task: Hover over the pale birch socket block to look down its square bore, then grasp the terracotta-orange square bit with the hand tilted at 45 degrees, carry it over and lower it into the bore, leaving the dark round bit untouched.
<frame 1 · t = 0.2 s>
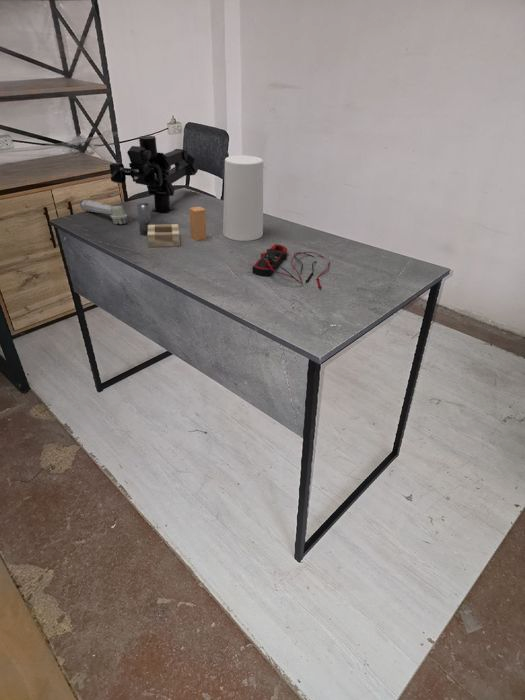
hand: (123, 180, 153), 17 cm above the table, tool horizontal, fingers open, 9 cm apart
grey knobbed rod: (104, 217, 174), on the table
socket block: (164, 241, 155), on the table
round bit: (146, 233, 160), on the table
cylinder: (242, 234, 164), on the table
digital clamp meter: (293, 270, 141), on the table
square bit: (198, 238, 159), on the table
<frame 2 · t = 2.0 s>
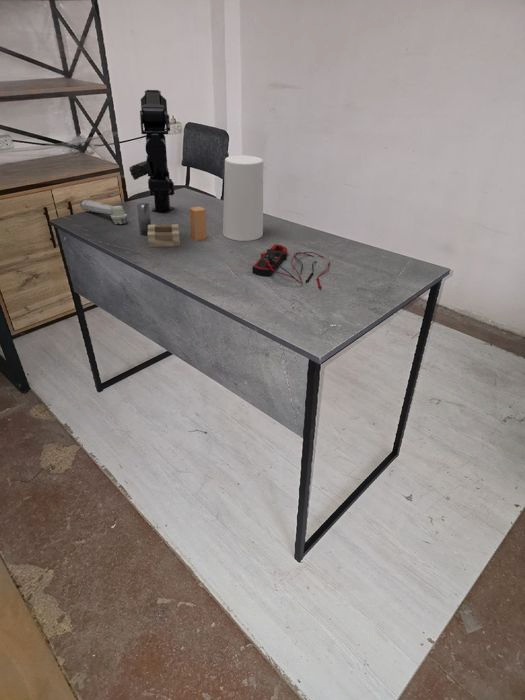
hand: (161, 205, 148), 12 cm above the table, tool pointing down, fingers open, 9 cm apart
nothing on the table moved.
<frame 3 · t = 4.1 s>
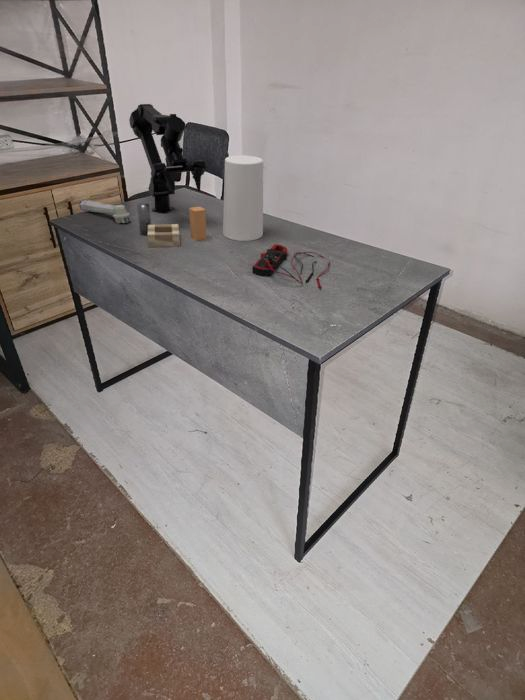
hand: (186, 192, 157), 13 cm above the table, tool tilted 45°, fingers open, 9 cm apart
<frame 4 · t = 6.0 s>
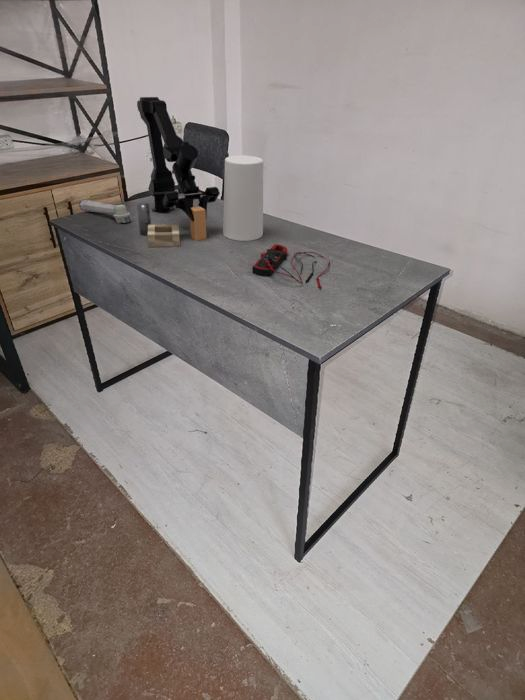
hand: (199, 220, 154), 7 cm above the table, tool tilted 45°, fingers closed on square bit, 4 cm apart
square bit: (198, 237, 159), on the table, touching gripper
everything else where it was.
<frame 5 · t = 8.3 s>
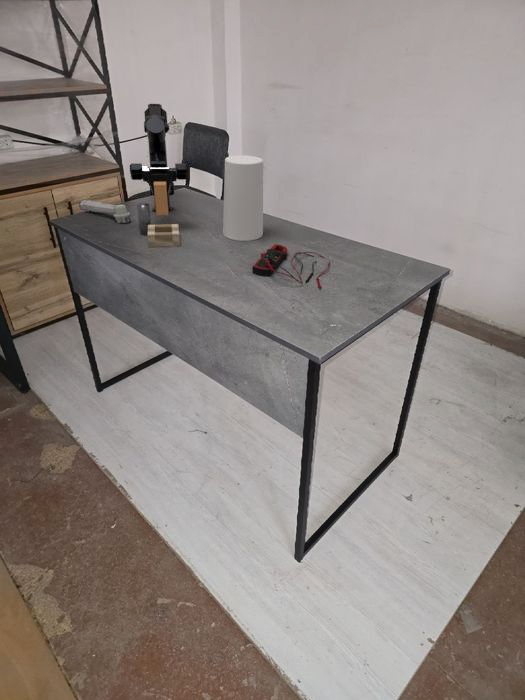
hand: (160, 194, 154), 13 cm above the table, tool tilted 45°, fingers closed on square bit, 4 cm apart
square bit: (162, 213, 159), point 7 cm above the table, touching gripper
everything else where it was.
when the fingers open (8 cm above the table, at t = 10.6 s): square bit stays where it is, resting on socket block.
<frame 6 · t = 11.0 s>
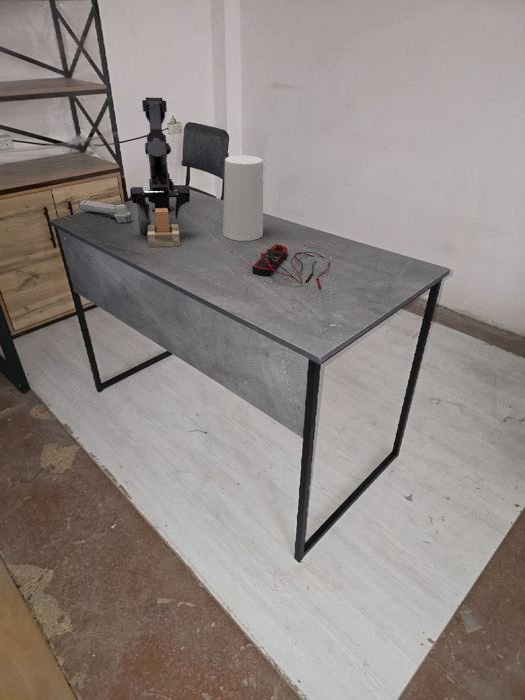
hand: (162, 218, 149), 8 cm above the table, tool tilted 45°, fingers open, 9 cm apart
square bit: (164, 239, 155), resting on socket block
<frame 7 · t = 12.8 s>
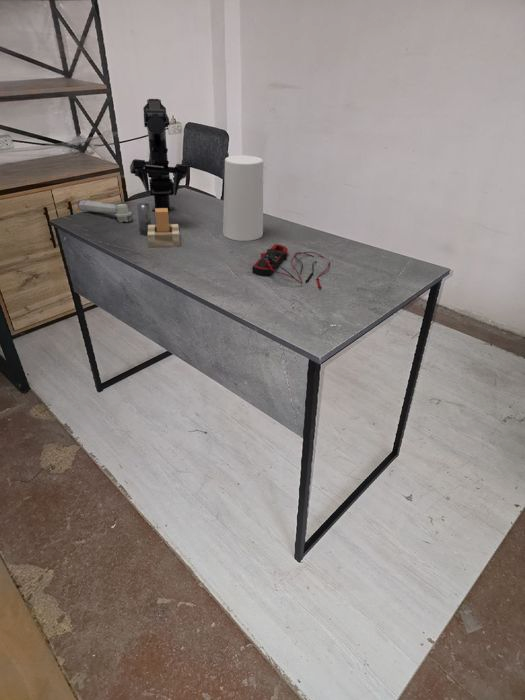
hand: (161, 194, 156), 13 cm above the table, tool tilted 35°, fingers open, 9 cm apart
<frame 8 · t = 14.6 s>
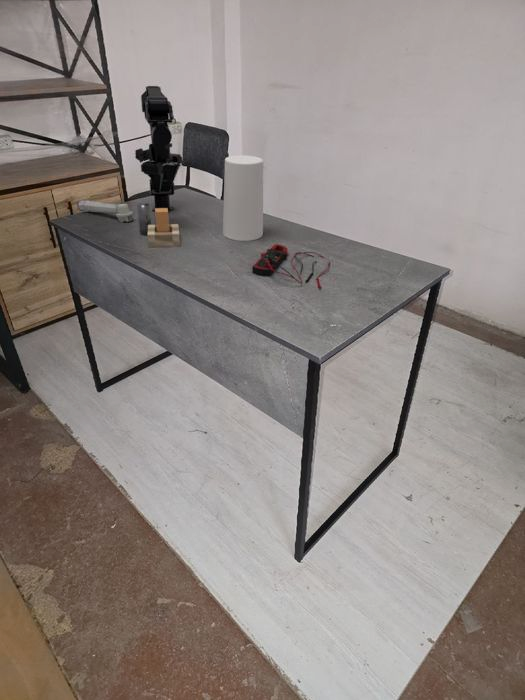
hand: (164, 189, 160), 13 cm above the table, tool pointing down, fingers open, 9 cm apart
at the end: square bit 0.0 cm off-centre on the socket block, point 0.4 cm above the socket block's base; square bit tilted 0°; the gripper is holding nothing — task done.
